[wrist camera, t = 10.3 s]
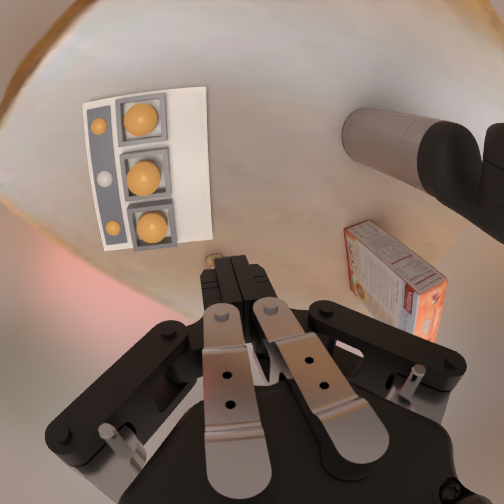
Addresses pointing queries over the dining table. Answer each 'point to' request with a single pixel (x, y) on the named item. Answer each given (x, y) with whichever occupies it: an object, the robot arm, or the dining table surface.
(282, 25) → the dining table surface
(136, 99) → the button console
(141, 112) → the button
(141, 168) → the middle button
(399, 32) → the dining table surface
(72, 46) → the dining table surface
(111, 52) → the dining table surface
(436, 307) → the cracker box
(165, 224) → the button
